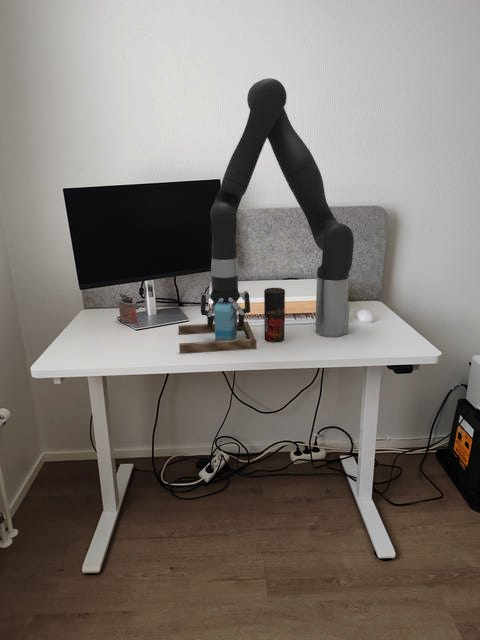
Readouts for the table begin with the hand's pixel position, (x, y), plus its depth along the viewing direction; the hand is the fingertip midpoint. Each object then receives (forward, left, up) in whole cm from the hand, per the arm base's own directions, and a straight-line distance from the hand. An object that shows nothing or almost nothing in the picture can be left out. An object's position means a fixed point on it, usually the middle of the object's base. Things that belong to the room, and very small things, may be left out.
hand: (225, 327), depth 151 cm
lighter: (+30, -21, -4) cm, 37 cm away
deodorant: (-14, +2, -4) cm, 15 cm away
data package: (0, 0, -4) cm, 4 cm away
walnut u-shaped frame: (+4, 0, -4) cm, 6 cm away
